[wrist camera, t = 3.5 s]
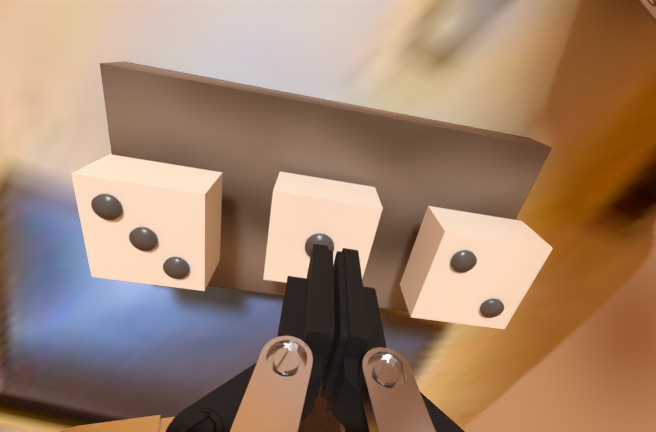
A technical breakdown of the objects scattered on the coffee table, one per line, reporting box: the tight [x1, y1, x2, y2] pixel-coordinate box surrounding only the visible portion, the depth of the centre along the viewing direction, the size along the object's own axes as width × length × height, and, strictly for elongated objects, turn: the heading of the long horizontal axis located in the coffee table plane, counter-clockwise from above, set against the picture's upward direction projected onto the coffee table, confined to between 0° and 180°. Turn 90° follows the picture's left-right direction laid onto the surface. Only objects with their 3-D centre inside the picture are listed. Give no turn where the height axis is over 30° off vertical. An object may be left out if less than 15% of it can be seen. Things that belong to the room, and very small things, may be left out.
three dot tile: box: [71, 154, 223, 291], centre depth 15 cm, size 5×5×3 cm
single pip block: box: [263, 171, 383, 283], centre depth 17 cm, size 5×5×3 cm
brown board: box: [100, 62, 551, 311], centre depth 19 cm, size 12×22×2 cm, turn 80°
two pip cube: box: [400, 206, 553, 329], centre depth 16 cm, size 5×5×3 cm
